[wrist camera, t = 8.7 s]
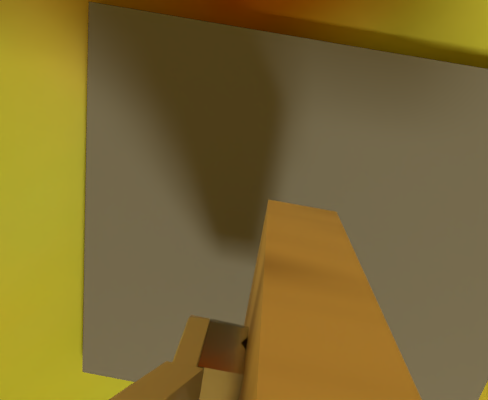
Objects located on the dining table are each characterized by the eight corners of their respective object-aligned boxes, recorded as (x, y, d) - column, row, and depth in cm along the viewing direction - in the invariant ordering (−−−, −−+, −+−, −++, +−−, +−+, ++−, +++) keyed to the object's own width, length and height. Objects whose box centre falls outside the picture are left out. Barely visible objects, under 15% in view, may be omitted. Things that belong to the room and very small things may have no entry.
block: (294, 371, 12) (314, 707, 6) (237, 360, 12) (193, 682, 6) (336, 211, 10) (442, 445, 4) (268, 199, 10) (256, 409, 4)
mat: (450, 432, 17) (456, 444, 17) (88, 362, 18) (82, 371, 17) (614, 92, 12) (631, 93, 12) (97, 4, 13) (88, 1, 12)
